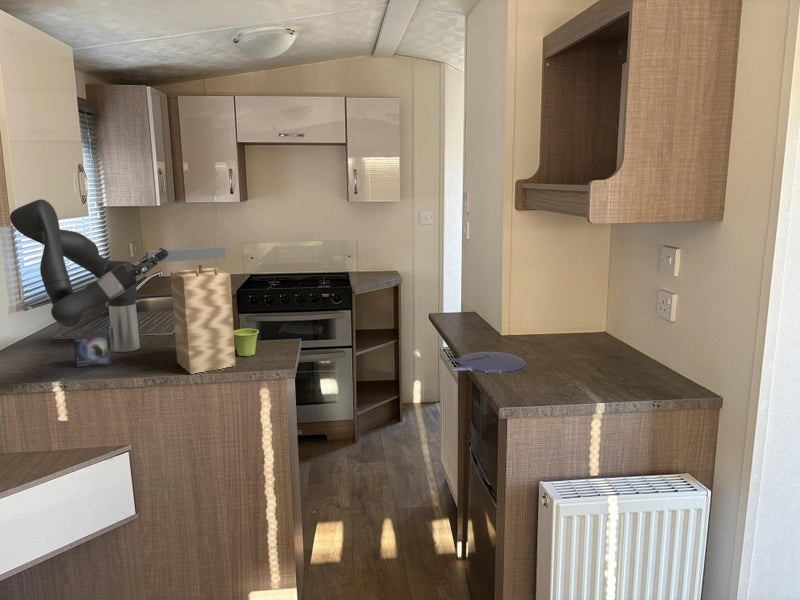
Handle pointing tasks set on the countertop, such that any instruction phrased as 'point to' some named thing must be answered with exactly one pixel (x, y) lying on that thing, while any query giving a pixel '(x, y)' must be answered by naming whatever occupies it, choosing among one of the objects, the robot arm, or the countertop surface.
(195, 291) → the oak block
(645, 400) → the countertop surface
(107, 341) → the small box
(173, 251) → the bar
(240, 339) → the plant pot
